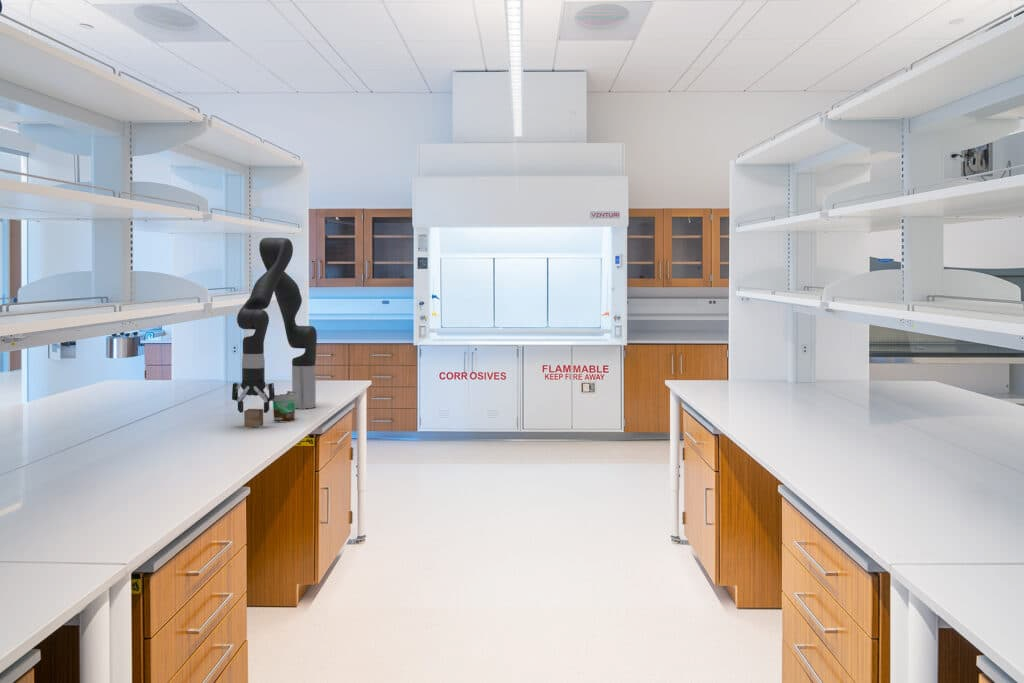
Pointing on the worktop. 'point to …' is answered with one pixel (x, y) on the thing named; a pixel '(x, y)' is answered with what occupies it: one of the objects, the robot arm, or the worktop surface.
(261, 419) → the walnut block
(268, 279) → the robot arm
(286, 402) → the food container
